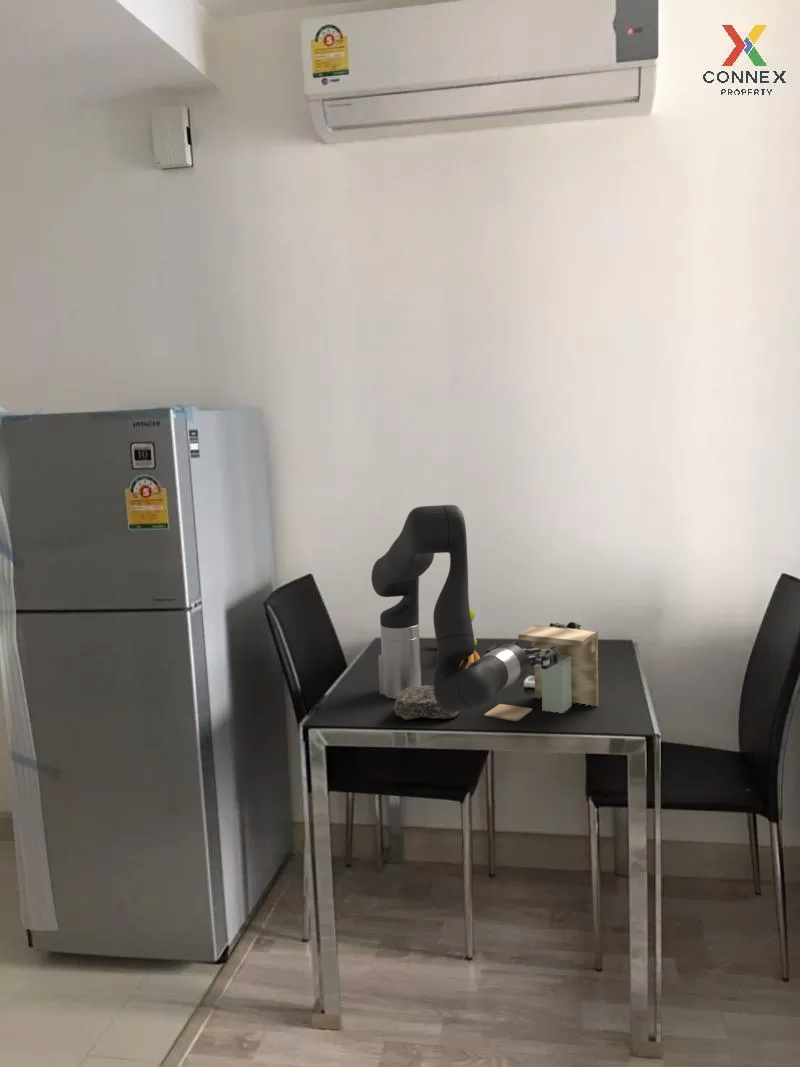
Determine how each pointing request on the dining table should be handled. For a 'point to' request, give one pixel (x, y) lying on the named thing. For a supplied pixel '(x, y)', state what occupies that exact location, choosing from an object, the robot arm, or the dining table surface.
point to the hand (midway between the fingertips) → (535, 648)
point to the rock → (419, 704)
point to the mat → (508, 712)
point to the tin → (557, 685)
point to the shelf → (582, 662)
